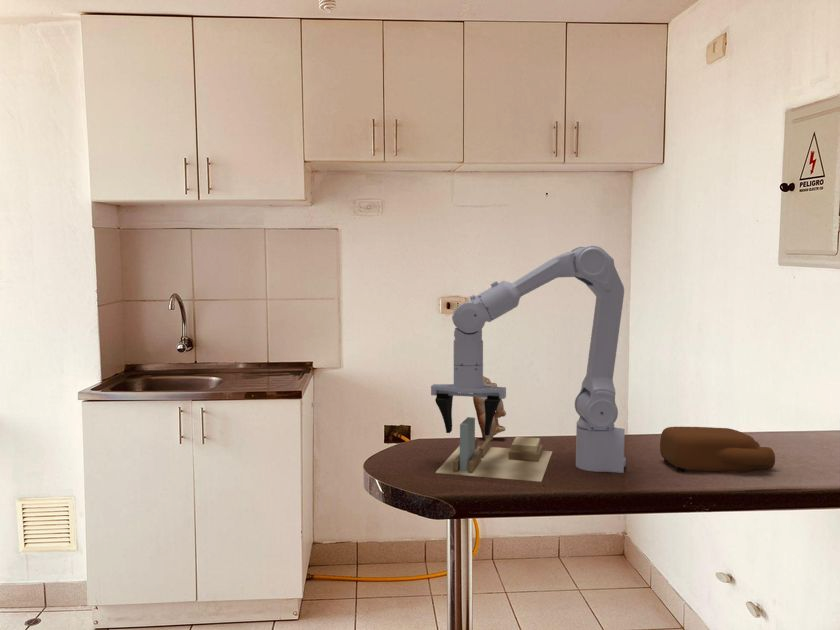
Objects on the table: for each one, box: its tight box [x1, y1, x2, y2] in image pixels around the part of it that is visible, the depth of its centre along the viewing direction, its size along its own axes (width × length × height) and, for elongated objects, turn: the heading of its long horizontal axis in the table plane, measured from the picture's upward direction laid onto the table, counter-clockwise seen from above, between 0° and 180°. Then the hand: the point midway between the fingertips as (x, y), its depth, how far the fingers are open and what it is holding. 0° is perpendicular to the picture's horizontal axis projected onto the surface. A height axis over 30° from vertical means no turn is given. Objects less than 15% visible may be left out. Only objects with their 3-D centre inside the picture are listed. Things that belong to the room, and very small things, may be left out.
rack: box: [435, 436, 553, 487], centre depth 144 cm, size 20×22×3 cm
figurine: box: [472, 375, 507, 441], centre depth 163 cm, size 6×8×15 cm
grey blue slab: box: [459, 416, 476, 472], centre depth 140 cm, size 2×7×9 cm, turn 164°
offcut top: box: [510, 436, 541, 454], centre depth 148 cm, size 5×7×2 cm
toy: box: [659, 426, 776, 473], centre depth 144 cm, size 15×8×20 cm
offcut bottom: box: [508, 444, 543, 462], centre depth 148 cm, size 6×8×2 cm
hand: (468, 433), depth 140 cm, fingers open, 7 cm apart
